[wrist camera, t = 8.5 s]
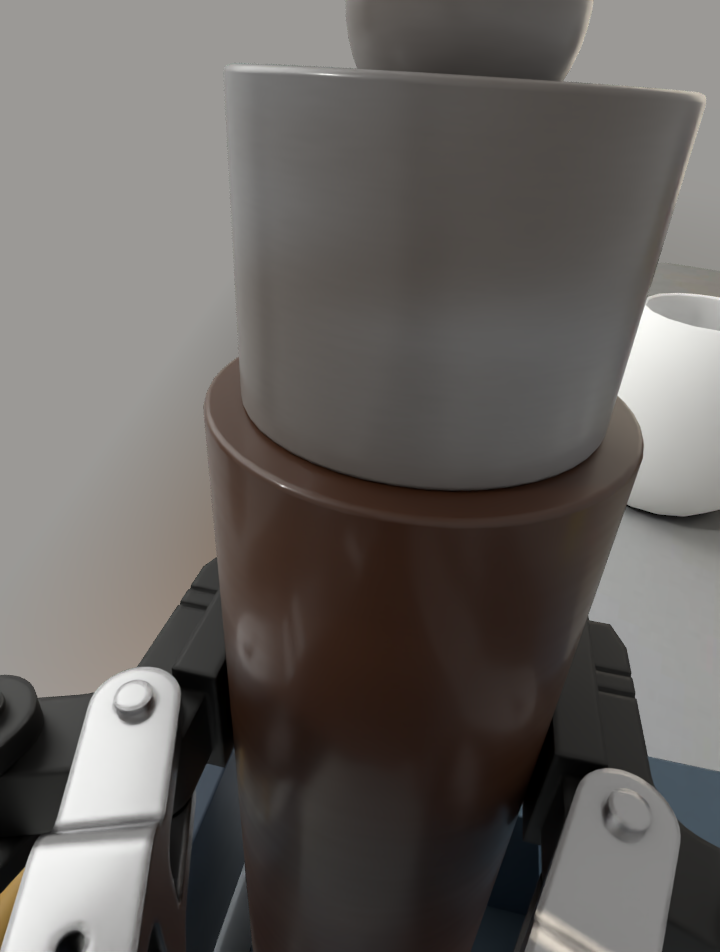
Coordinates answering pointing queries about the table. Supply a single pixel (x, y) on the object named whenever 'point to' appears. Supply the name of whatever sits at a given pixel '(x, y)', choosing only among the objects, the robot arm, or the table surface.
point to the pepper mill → (421, 444)
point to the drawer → (223, 860)
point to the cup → (676, 404)
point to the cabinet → (687, 797)
